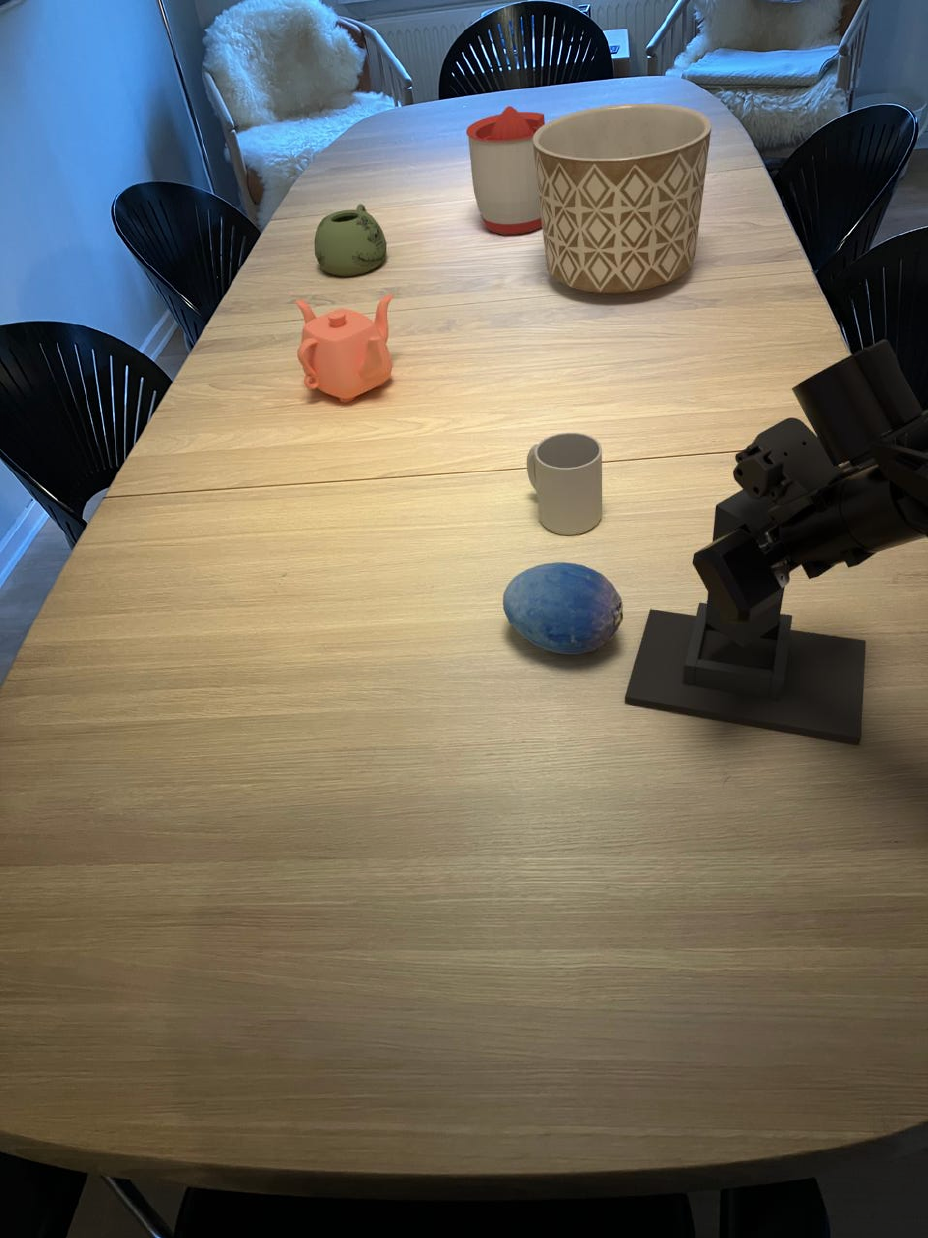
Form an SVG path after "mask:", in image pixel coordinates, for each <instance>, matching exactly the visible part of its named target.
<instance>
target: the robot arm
mask: <svg viewBox="0 0 928 1238" xmlns="http://www.w3.org/2000/svg"><path fill="white" fill-rule="evenodd" d="M907 381H908V380H907V379H906V377H905V375H904V374H903V372H902V369H901V368H900V365H899V361H898V358H897V356H896V353H895V351H894V349H893V348H892V346H891V343H890V342H889V340H888V339H885V338H884V339H882V340H880V341H878V342H876V343H875V344H872V345H870V346H869V347H866V346H864V347H863V348H861V349H859V350H857V351H856V352H853V353H852V354H850V355H848V356H847V357H845V358H843V359H841V360H839V361H837V362H835V363H834V364H832V365H829V366H828V367H826V368H824V369H822V370H821V371H819V372H817V373H815V374H813V375H811V376H809V377H808V378H806V379H805V380H803V381H801V382H800V383H798V384H796V385H795V386H793V387H791V390H792V392H793V394H794V396H795V398H796V400H797V402H798V403H799V406H800V407H801V409H802V412H803V413H804V415H805V417H806V418H807V421H808V422H809V424H810V426H811V427H812V429H813V431H812V429H810V427H808V426H807V424H806V423H805V422H804V421H802V420H801V419H799V418H797V417H787V418H785V419H783V420H780V421H779V422H777V423H775V424H774V425H772V426H770V427H768V428H767V429H765V430H763V431H761V432H760V433H758V434H757V435H756V437H755V438H754V439H753V441H752V442H751V443H750V444H749V445H747V446H746V448H744V449H742V450H740V451H738V453H736V454H735V456H734V457H735V458H734V459H735V461H736V463H737V464H736V466H735V467H734V468H733V470H732V475H733V480H734V481H735V482H736V483H737V484H738V486H739V487H740V488H741V489H743V490H744V491H745V492H746V493H747V494H748V495H749V496H750V497H751V498H752V499H755V500H759V499H761V498H762V497H768V498H769V499H770V500H771V501H773V502H775V503H777V504H778V506H776V507H774V508H772V509H770V510H769V511H767V513H768V515H769V517H770V519H771V521H772V522H773V524H774V526H775V527H774V528H772V529H770V530H769V531H767V532H766V533H765V537H766V539H767V540H768V542H769V543H770V544H774V542H777V541H778V540H781V542H779V543H778V544H776V545H774V546H773V547H770V545H769V543H766V544H763V545H761V546H759V545H760V544H759V542H758V541H756V539H755V538H754V536H753V535H752V534H751V532H750V530H749V528H748V526H747V524H746V523H745V524H743V525H741V526H740V527H738V528H736V529H735V530H733V531H731V532H730V533H728V534H726V535H725V536H723V537H721V538H719V539H717V540H715V541H714V542H713V541H712V542H710V543H709V544H707V545H705V546H703V547H702V548H700V549H698V550H697V551H695V552H694V553H693V558H692V565H693V568H694V569H695V571H696V572H697V575H698V577H699V578H700V580H701V583H702V584H703V585H704V587H705V589H706V590H707V591H706V592H707V594H708V593H709V594H710V596H711V598H712V600H713V602H714V604H715V605H716V607H717V609H718V611H719V613H720V615H721V616H722V618H723V620H724V622H725V623H728V624H731V625H738V624H742V623H746V622H749V621H751V620H752V619H754V618H755V617H757V616H758V615H760V614H761V613H763V612H764V611H766V610H767V609H769V608H770V607H772V606H773V605H775V604H776V603H778V602H779V601H780V598H781V592H782V588H783V587H785V588H786V586H788V585H789V583H790V580H791V578H790V573H791V572H793V571H794V570H796V569H797V568H799V567H802V569H803V571H804V573H805V574H806V576H807V578H808V580H811V579H815V578H819V577H820V576H822V575H823V574H825V573H826V572H827V571H830V569H832V568H834V567H836V566H837V565H839V564H843V563H845V564H846V566H847V568H848V569H851V568H853V567H856V566H860V565H861V564H863V563H864V562H865V561H866V560H869V558H871V557H873V556H874V555H876V554H877V553H880V552H882V551H885V550H890V549H893V548H897V547H899V546H902V545H906V544H908V543H912V542H916V541H919V540H923V539H926V538H927V539H928V409H925V410H923V409H922V407H921V405H920V403H919V401H918V400H917V398H916V395H915V394H914V392H913V391H912V388H911V387H910V384H909V383H908V382H907ZM787 556H789V557H788V558H786V559H785V560H783V561H782V562H780V563H779V561H781V560H782V559H784V558H785V557H787ZM778 565H780V567H777V566H778ZM776 567H777V568H776Z"/></svg>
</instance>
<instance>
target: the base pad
mask: <svg viewBox="0 0 928 1238" xmlns="http://www.w3.org/2000/svg"><path fill="white" fill-rule="evenodd" d="M706 608H707V602H699V603H698V606H697V610H696V615H693V614H686V613H679V612H672V611H666V610H661V609H660V610H659V609H653V608H651V609H649V612H648V614H647V619H646V622H645V625H644V628H643V632H642V636H641V639H640V642H639V647H638V650H637V653H636V657H635V660H634V663H633V667H632V670H631V674H630V677H629V680H628V684H627V688H626V691H625V694H624V704H626V705H632V706H637V707H642V708H648V709H654V710H658V711H659V710H660V711H665V712H670V713H676V714H683V715H687V716H693V717H698V718H704V719H710V720H716V721H721V722H726V723H732V724H737V725H744V726H748V727H753V728H754V727H755V728H761V729H765V730H770V731H771V730H772V731H777V732H783V733H789V734H793V735H801V736H805V737H811V738H817V739H822V740H827V741H833V742H839V743H843V744H844V743H845V744H850V745H854V746H855V745H856V746H859V745H860V742H861V739H862V724H863V705H864V688H865V687H864V686H865V682H864V681H865V669H866V667H865V666H866V665H865V664H866V647H867V641H866V640H865V639H860V638H852V637H845V636H838V635H831V634H823V633H816V632H810V631H804V630H797V629H792V622H793V615H792V614H785V613H780V619H779V624H778V625H777V626H775V627H774V628H772V629H771V630H769V631H768V632H766V633H765V634H763V635H762V636H760V637H759V638H757V639H756V640H754V641H753V642H751V643H750V644H749V645H747V646H746V647H744V648H743V647H741V646H740V645H738V644H737V643H735V642H734V641H733V640H731V639H730V638H728V637H727V636H725V635H724V634H722V633H721V632H719V631H718V630H716V629H715V628H714V627H712V626H711V625H709V624H708V623H706V622H705V619H706Z"/></svg>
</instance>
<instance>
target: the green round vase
mask: <svg viewBox="0 0 928 1238" xmlns="http://www.w3.org/2000/svg"><path fill="white" fill-rule="evenodd" d="M387 246H388V245H387V239H386V237H385V234H384V232H383V230H382V228H381V226H380V224H379V222H378V221H377V220H376V219H375V218H374V216H373V215H372V214H371V213H369V212H367V209H366V206H365V205H364V204H362V203H359V204H357V206H356V209H354V208H353V209H343V210H339V211H334V212H332V213H329V214H327V215H326V216H325V217H323V218H322V219H321V221H320V222H319V224H318V226H317V229H316V232H315V236H314V256H315V258H316V260H317V263H318V265H319V267H320V269H321V270H322V271H323V272H326V273H329V274H331V275H333V276H339V277H348V276H350V277H351V276H356V275H361V274H366V273H368V272H371V271H372V270H374V269H376V268H377V267H379V266H380V265H382V263H383V262H384V261H385V260H386V257H387Z"/></svg>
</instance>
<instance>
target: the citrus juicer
mask: <svg viewBox="0 0 928 1238" xmlns="http://www.w3.org/2000/svg"><path fill="white" fill-rule="evenodd" d="M545 124H546V120H545V113H541V112H535V111H534V112H531V111H518V110H517V109H516V108H515V107H513V106H511V105H508V106H506V107H505V109H504V110H503V111H502V112H501V114H496V115H491V116H488V117H484V118H482V119H479V120H477V121H474V122H473V123H471V124H470V125H469V126H467V128H466V131H465V134H466V136H467V139H468V149H469V159H470V169H471V180H472V188H473V193H474V197H475V201H476V205H477V208H478V211H479V213H480V217H481V219H482V222H483V223H484V225H485V228H486V229H487V230H488V231H491V232H492V233H496V234H500V235H501V236H510V235H518V234H526V233H529V232H533V231H536V230H538V229H543V228H542V220H541V211H540V202H539V193H538V184H537V175H536V166H535V157H534V149H533V136H534V134H535V132H536V131H537V130H538V129H539V128H540V127H542V126H543V125H545Z"/></svg>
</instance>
